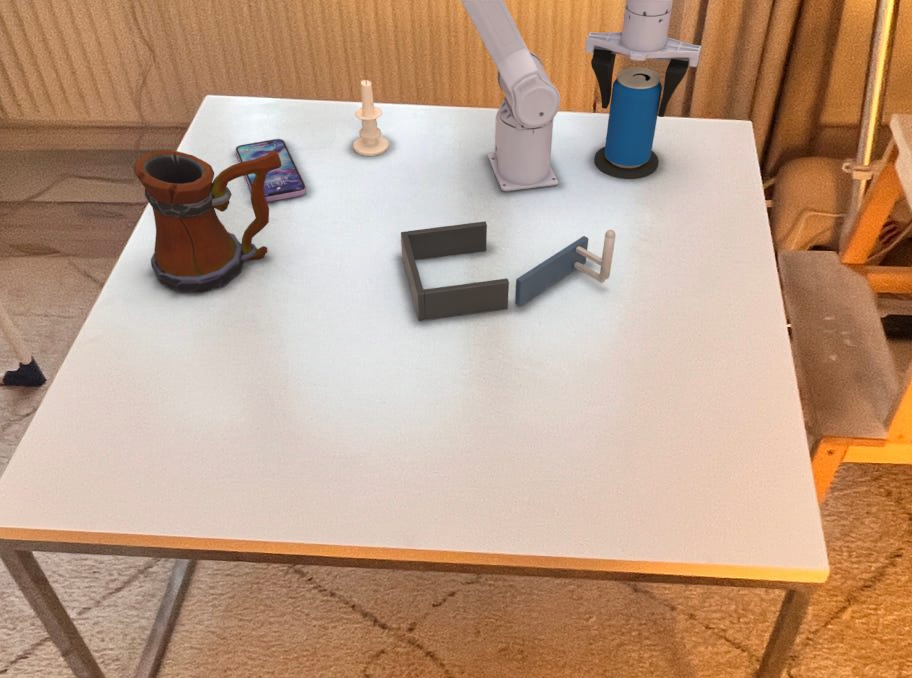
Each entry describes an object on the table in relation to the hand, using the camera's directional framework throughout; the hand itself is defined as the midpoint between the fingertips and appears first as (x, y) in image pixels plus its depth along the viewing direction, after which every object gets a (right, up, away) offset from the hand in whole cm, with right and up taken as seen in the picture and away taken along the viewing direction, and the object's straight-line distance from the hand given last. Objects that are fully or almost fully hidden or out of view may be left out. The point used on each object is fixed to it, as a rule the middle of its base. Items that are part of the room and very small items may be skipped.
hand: (633, 109), depth 126 cm
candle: (-36, -2, +10) cm, 38 cm away
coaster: (0, -5, +6) cm, 8 cm away
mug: (-54, -23, -8) cm, 59 cm away
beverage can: (0, -5, +6) cm, 8 cm away
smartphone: (-50, -7, +6) cm, 51 cm away
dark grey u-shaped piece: (-24, -26, -12) cm, 37 cm away
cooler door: (-11, -27, -14) cm, 33 cm away
